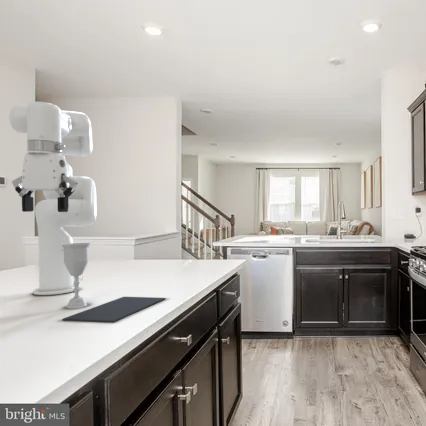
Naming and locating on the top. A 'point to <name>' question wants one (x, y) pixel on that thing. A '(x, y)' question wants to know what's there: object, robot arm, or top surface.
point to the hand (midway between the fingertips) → (45, 211)
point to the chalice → (76, 268)
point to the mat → (114, 309)
